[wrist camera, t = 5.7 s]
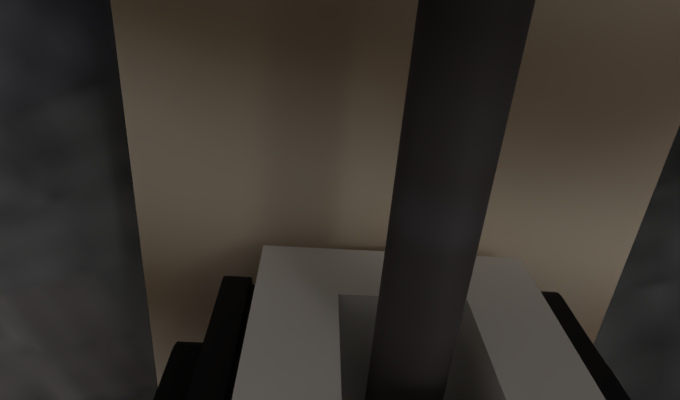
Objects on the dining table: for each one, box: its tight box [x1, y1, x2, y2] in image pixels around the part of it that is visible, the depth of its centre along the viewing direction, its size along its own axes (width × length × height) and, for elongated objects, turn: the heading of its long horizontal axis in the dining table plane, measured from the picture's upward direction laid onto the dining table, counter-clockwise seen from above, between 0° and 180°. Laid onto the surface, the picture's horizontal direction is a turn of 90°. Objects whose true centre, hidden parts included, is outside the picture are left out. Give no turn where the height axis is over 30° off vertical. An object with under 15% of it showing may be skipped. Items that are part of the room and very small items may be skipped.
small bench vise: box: [110, 0, 680, 400], centre depth 10 cm, size 20×10×6 cm, turn 176°
